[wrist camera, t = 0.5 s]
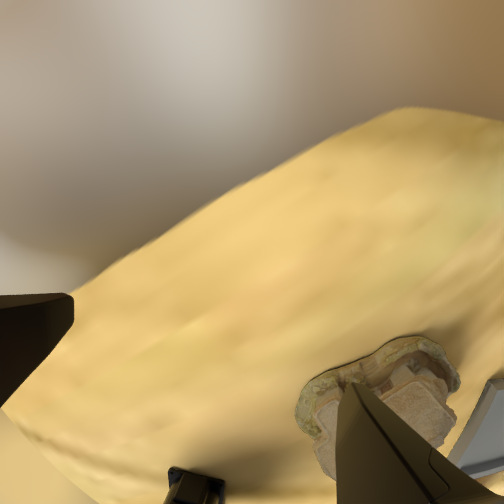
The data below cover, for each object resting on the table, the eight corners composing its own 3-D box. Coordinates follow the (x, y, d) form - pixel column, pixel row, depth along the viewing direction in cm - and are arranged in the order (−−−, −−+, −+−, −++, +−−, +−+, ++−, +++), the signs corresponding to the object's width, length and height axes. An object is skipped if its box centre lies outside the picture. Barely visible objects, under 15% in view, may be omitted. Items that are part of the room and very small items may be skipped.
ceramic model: (344, 462, 25) (354, 537, 15) (274, 402, 25) (263, 488, 15) (460, 380, 22) (509, 441, 13) (408, 300, 22) (469, 356, 12)
